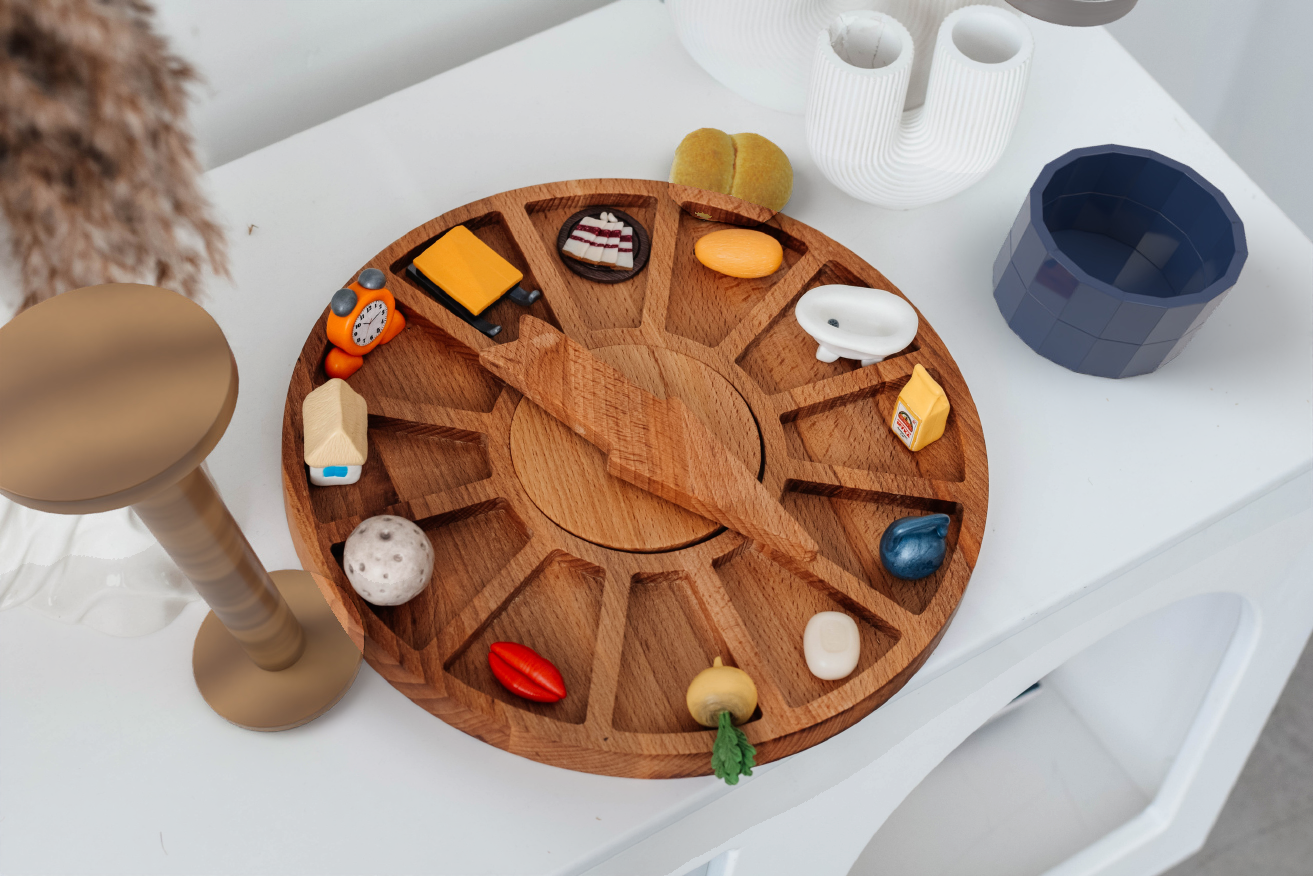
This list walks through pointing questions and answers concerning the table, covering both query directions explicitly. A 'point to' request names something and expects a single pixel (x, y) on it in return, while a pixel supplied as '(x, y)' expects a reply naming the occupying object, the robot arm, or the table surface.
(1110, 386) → the table surface
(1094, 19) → the masher
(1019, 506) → the table surface
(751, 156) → the bread roll
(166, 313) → the cake stand
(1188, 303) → the pot
